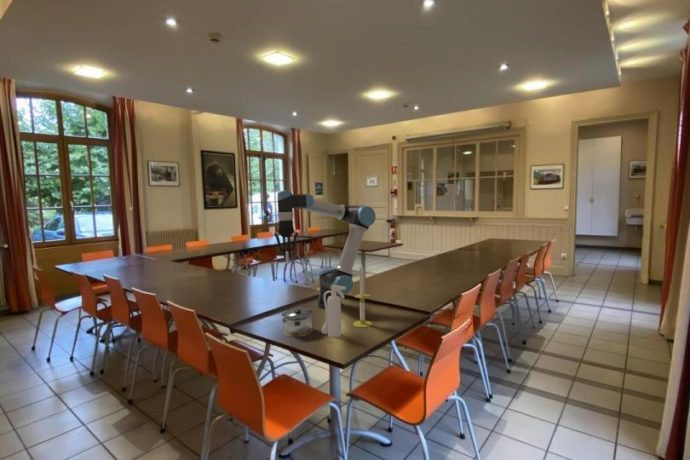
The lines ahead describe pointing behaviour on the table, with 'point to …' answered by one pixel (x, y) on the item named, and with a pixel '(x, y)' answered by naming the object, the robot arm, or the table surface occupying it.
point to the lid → (297, 313)
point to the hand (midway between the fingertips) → (287, 263)
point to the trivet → (302, 335)
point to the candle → (362, 302)
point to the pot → (298, 326)
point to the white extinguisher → (333, 311)
